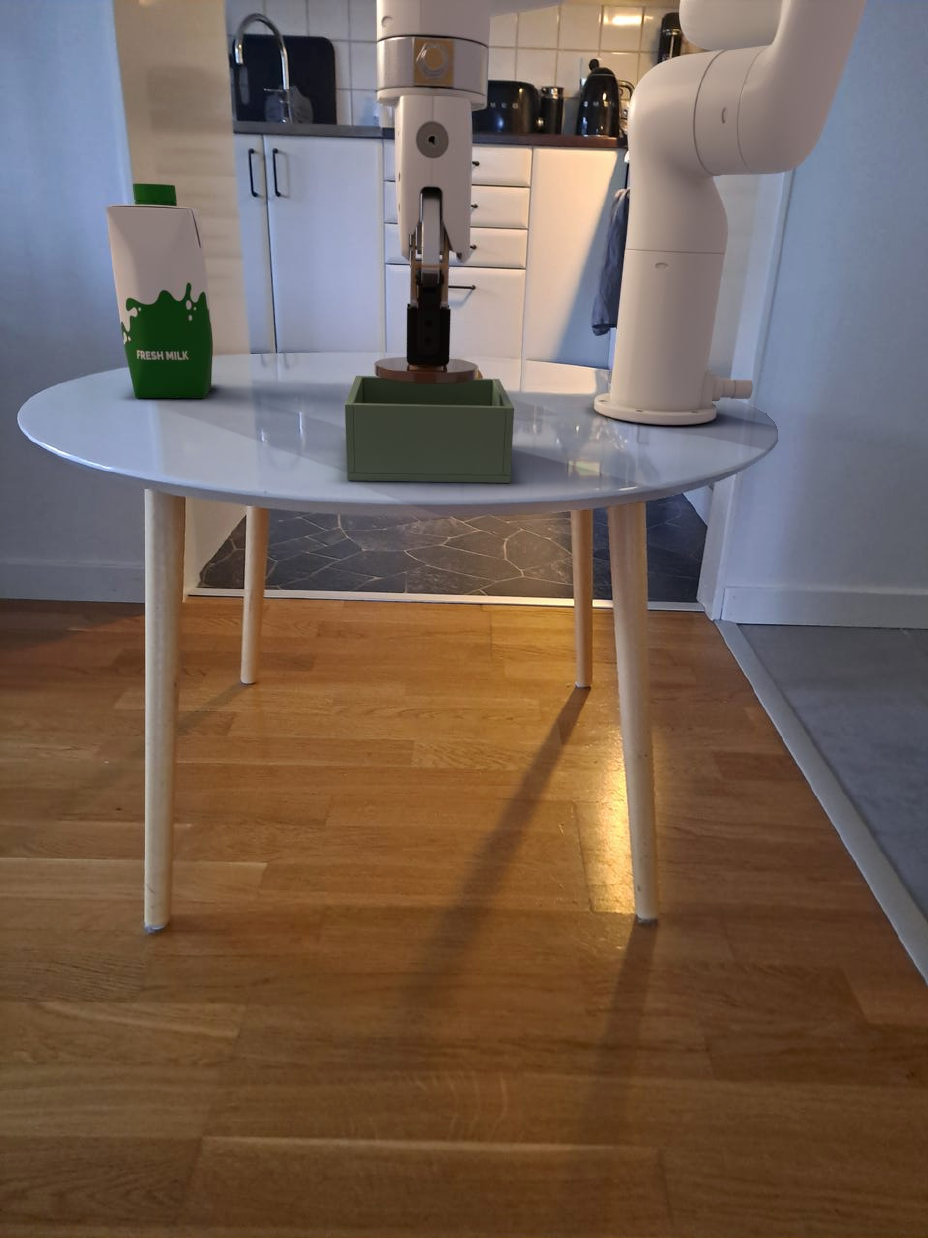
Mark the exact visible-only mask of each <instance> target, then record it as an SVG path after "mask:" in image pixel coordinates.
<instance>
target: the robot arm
mask: <svg viewBox="0 0 928 1238" xmlns="http://www.w3.org/2000/svg"><path fill="white" fill-rule="evenodd" d="M568 1H569V0H376V102H377V103H378V104H380V105H382V106H385V107H389V108H394V171H395V172H394V173H395V175H394V176H395V180H394V181H395V201H396V202H395V203H396V219H397V230H398V239H399V245H400V254H401V256H402V257H403V258H404V259H405V260H406V261H408V262H409V267H410V281H409V283H410V286H409V288H410V289H409V290H410V291H409V303H407V305H406V357H407V363H408V364H410V365H430V366H446V365H447V364H448V363H449V359H450V351H451V350H450V349H451V347H450V346H451V318H452V317H451V315H452V314H451V313H452V312H451V311H452V308H450V305H449V280H450V279H449V277H450V275H449V273H450V268H451V267H450V252H452V253H454V254H455V257H456V258H455V259H456V261H457V262H458V263H460V264H465V263H466V262H467V261H469V259H470V258H471V223H472V222H471V221H472V220H471V219H472V217H471V215H472V189H473V187H472V186H473V185H472V184H473V183H472V182H473V118H472V117H473V115H472V114H473V113H472V112H475V111H476V112H477V111H480V110H485V109H487V107H488V89H489V88H488V87H489V62H490V61H489V59H490V50H489V49H490V32H491V31H490V30H491V18H495V17H500V16H504V15H511V14H521V13H527V12H532V11H537V10H542V9H547V8H552V7H555V6H559V5H561V4H563V3H566V2H568ZM867 1H868V0H679V7H678V9H679V10H678V16H679V18H678V19H679V24H680V25H679V26H680V29H681V31H682V33H683V35H684V37H685V39H686V40H687V41H688V42H689V43H690V44H692V45H693V46H695V47H696V48H699V49H703V50H707V51H703V52H696V53H695V52H694V53H689V54H683V55H679V56H674V57H672V58H669V59H666V60H664V61H662V62H660V63H657V64H656V65H654V66H652V68H651V69H649V70H648V71H647V72H645V74H644V75H643V76H642V77H641V78H640V79H639V81H638V83H637V84H636V86H635V87H634V90H633V92H632V95H631V97H630V100H629V104H628V111H627V119H626V120H627V121H626V130H627V131H626V132H627V147H628V161H629V162H628V163H629V203H628V219H627V230H626V241H625V248H624V257H623V267H622V278H621V285H620V296H619V304H618V312H617V313H618V315H617V322H616V323H617V324H616V334H615V342H614V344H615V345H614V352H613V353H614V354H613V362H612V370H611V371H612V372H611V382H610V391H609V392H605V393H602V394H599V395H597V396H596V397H595V398H594V402H593V409H594V410H595V412H597V413H599V414H601V415H603V416H606V417H609V418H611V419H615V420H621V421H626V422H632V423H638V424H639V423H640V424H648V425H660V426H661V425H663V426H686V425H699V424H704V423H709V422H711V421H714V419H716V418H717V413H718V406H717V404H715V403H713V402H719V401H720V400H722V399H723V398H726V399H732V400H749V399H750V398H751V396H752V394H753V388H754V387H753V385H754V384H753V381H752V380H751V379H732V378H731V377H728V378H727V377H722V376H720V375H719V376H717V373H715V372H713V371H712V370H710V369H708V368H709V362H710V354H711V348H712V342H713V335H714V330H715V329H714V328H715V322H716V315H717V308H718V303H719V295H720V288H721V282H722V275H723V270H724V263H725V258H726V257H725V255H726V252H727V245H728V237H729V236H728V235H729V223H728V216H727V211H726V208H725V206H724V203H723V200H722V197H721V195H720V193H719V190H718V188H717V185H716V182H715V179H714V177H720V176H721V177H722V176H734V175H735V176H745V175H748V176H749V175H751V176H752V175H753V176H754V175H775V174H776V175H777V174H782V173H786V172H789V171H792V170H794V169H796V168H798V167H799V166H800V165H802V164H803V163H804V162H805V161H806V160H807V159H808V158H809V156H810V155H811V153H812V152H813V151H814V150H815V147H816V145H817V143H818V141H819V140H820V137H821V135H822V132H823V130H824V128H825V125H826V123H827V120H828V117H829V114H830V111H831V108H832V106H833V102H834V100H835V97H836V94H837V91H838V88H839V85H840V83H841V79H842V76H843V73H844V70H845V68H846V64H847V63H848V62H847V61H848V59H849V56H850V53H851V50H852V46H853V44H854V41H855V38H856V35H857V32H858V29H859V27H860V23H861V20H862V17H863V14H864V10H865V8H866V4H867ZM417 255H420V257H417ZM440 257H441V258H440ZM417 286H418V298H417ZM417 302H418V308H417ZM440 303H441V309H440Z"/></svg>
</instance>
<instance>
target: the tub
mask: <svg viewBox="0 0 928 1238" xmlns="http://www.w3.org/2000/svg"><path fill="white" fill-rule="evenodd" d="M344 419H345V420H344V426H345V427H344V428H345V455H346V456H345V459H346V460H345V461H346V480H347V481H350V482H351V481H354V482H355V481H356V482H358V481H360V482H361V481H362V482H421V483H423V482H424V483H427V482H428V483H484V484H485V483H486V484H488V483H489V484H491V483H492V484H493V483H494V484H511V475H512V459H513V458H512V457H513V456H512V455H513V438H514V436H513V435H514V421H515V407H514V405H513V403H512V401H511V399H510V397H509V395H508V393H507V391H506V389H505V388H504V386H503V384H502V382H501V380H500V378H483V379H478V378H476V379H474V380H471V381H467V382H460V383H447V384H424V383H408V382H399V381H393V380H388V379H384V378H381V377H378V376H376V375H355V377H354V380H353V383H352V385H351V388H350V390H349V393H348V395H347V398H346V401H345V403H344Z"/></svg>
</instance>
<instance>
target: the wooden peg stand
mask: <svg viewBox="0 0 928 1238" xmlns="http://www.w3.org/2000/svg"><path fill="white" fill-rule="evenodd" d="M417 298H418V286H417ZM417 308H418V302H417ZM440 309H441V303H440ZM457 359H458V358H449V363H448V364H447V365H446V366H430V365H410V364H408V363H407V356H398V357H395V356H394V357H389V358H382V359H378V360H377V361H375V362H374V376H378V377H381V378H384V379H388V380H393V381H399V382H408V383H424V384H447V383H460V382H467V381H471V380H474V379H476V378H477V377H478V369H479V365H477V364H476V363H475V362H471V361H467V360H465V361H463V360H464V359H461V360H457Z"/></svg>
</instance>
